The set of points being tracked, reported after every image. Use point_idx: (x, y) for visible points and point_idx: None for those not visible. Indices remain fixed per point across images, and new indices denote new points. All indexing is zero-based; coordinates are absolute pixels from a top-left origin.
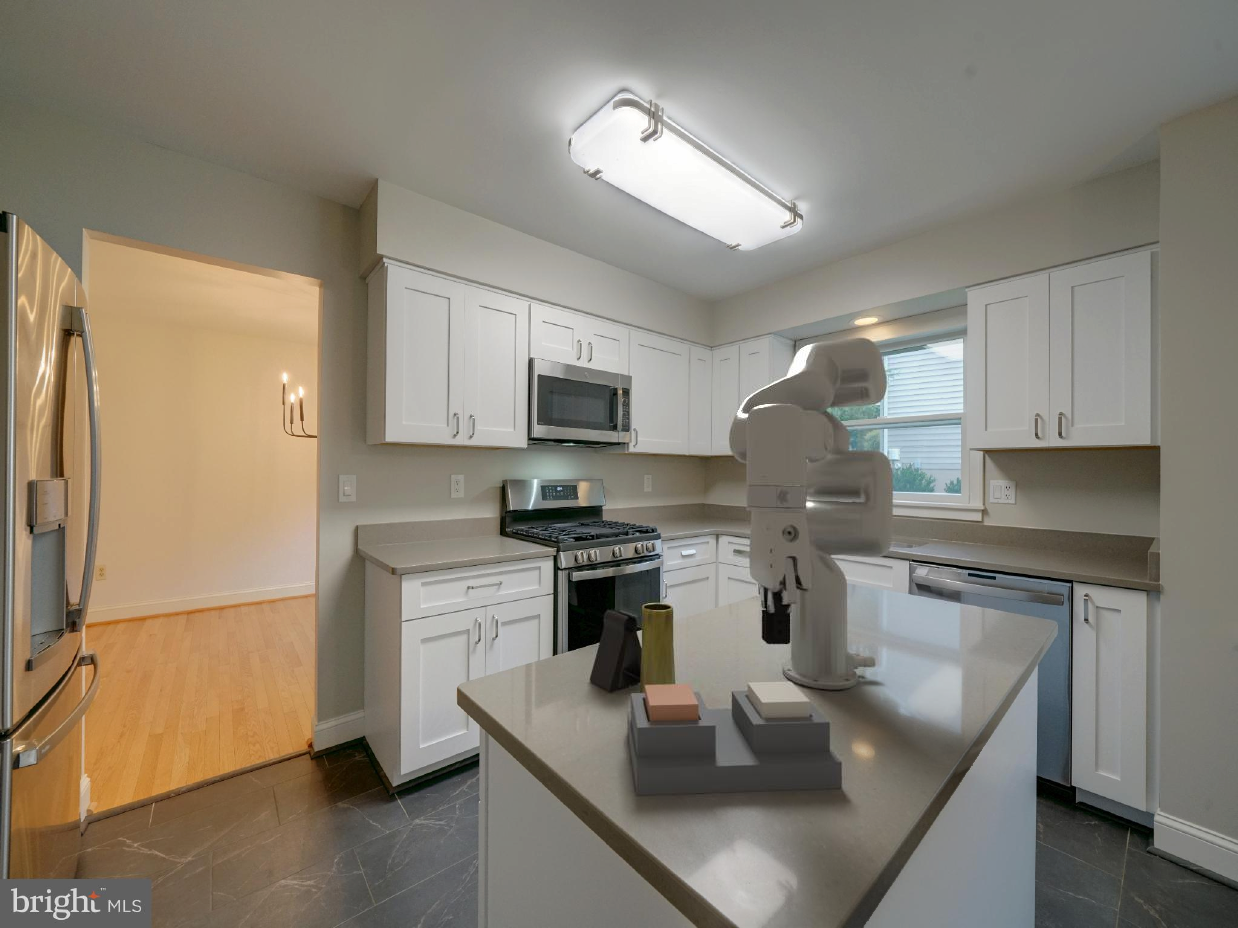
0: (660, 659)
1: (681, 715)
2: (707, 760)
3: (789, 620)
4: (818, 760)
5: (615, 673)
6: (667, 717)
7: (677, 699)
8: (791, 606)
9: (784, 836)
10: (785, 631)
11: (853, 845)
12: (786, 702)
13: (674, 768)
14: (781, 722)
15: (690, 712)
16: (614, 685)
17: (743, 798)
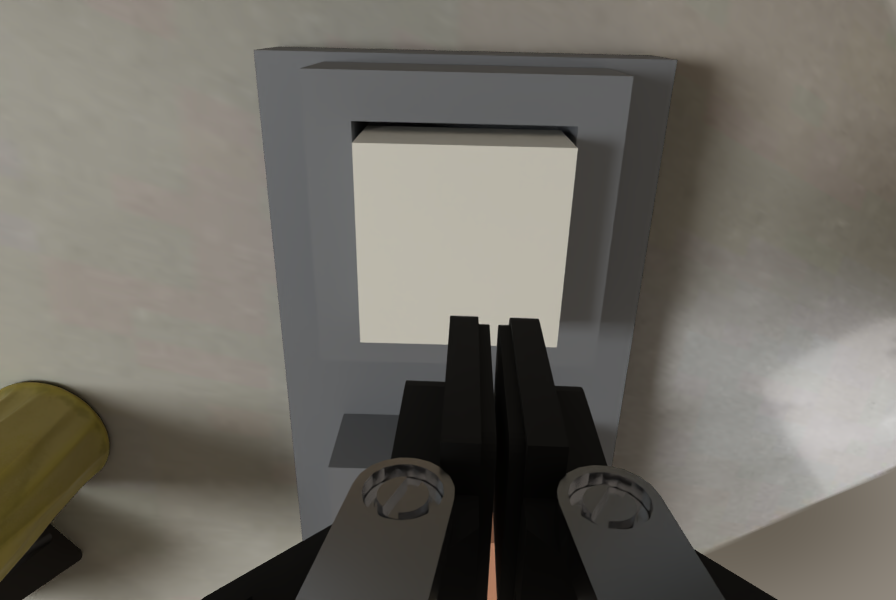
0: (18, 528)
1: None
2: None
3: (554, 407)
4: (650, 138)
5: (33, 584)
6: None
7: (493, 590)
8: (676, 529)
9: (784, 296)
10: (585, 410)
11: (863, 151)
12: (565, 252)
13: None
14: (600, 271)
15: None
16: (58, 556)
17: (636, 340)
